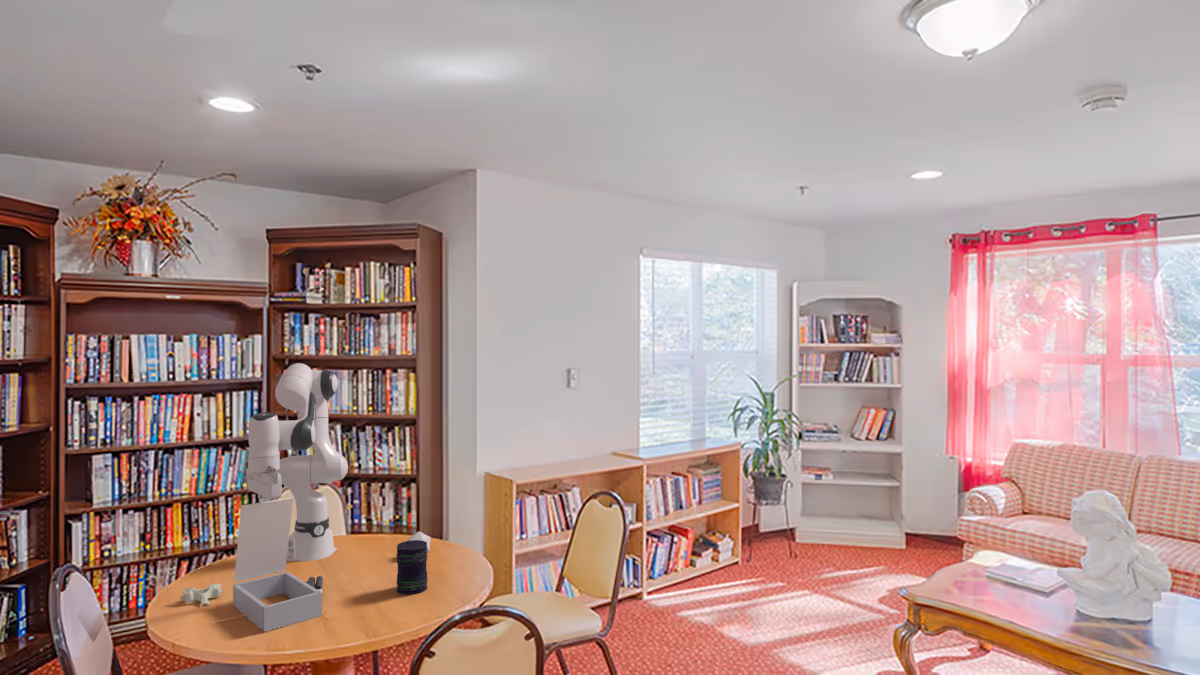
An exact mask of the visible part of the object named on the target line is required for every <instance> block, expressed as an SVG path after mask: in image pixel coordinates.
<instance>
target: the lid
mask: <svg viewBox="0 0 1200 675" xmlns="http://www.w3.org/2000/svg"><path fill="white" fill-rule="evenodd" d="M293 503H294V496H293V497H292V496H290V497H285V498H277V499H271V500H270V501H266V502H254V503H250V504H244V505H241V506H240V515H239V527H238V538H237V545H236V546H237V548H236V556H235V557H236V559H235V569H234V570H235V571H234V583H240V582H244V581H247V580H253V579H255V578H256V579H257V578H259V577H260V578H261V577H265V576H269V575H271V574H272V575H273V574H278V573H279V572H281V573H282V572H286V569H287V562H288V561H287V551H288V542H289V536H290V531H291V524H292V522H291V521H292V514H293V513H292V512H293Z"/></svg>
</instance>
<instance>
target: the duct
mask: <svg viewBox="0 0 1200 675" xmlns="http://www.w3.org/2000/svg"><path fill="white" fill-rule="evenodd" d="M306 582H307V581H306ZM306 582H305V581H304V580H303V579H300V578H299V577H297V576H295V574H292V573H290V572H289V571H283V572H281V573H274V574H272V575H271V574H270V575H266V576H262V577H260V578H259V577H258V578H256V579H255V578H254V579H250V580H248V581H247V580H246V581H241V582H237V583H235V584H233V585H232V594H233V595H232V597H233V598H232V601H233V602H232V605H233V607H234V608H236V609H237V611H239V612H241V613H242V615H245V616H246V617H247V618H248V619H250V620H251V621H252V622H253V623H254V624H256V625H257V626H258V627H259V628H260V629H262V630H263V631H264V632H265V631H269V630H272V629H275V630H277V629H276V628H279V629H281V628H280V627H282V628H284V627H283V626H285V627H288V626H287V625H289V626H292V625H295V624H298V622H299V623H302V622H305V621H308V620H312V619H314V618H315V617H316V618H320V617H322V616H323V608H322V607H323V604H322V603H323V596H322V595H323V591H322V592H320V591H319V590H317V589H315V586H314V587H312V586H310V585H309V584H307V583H306ZM279 595H282V596H286V597H288V598H289V599H287V600H284V601H280V602H276V603H272V604H268V605H267V604H265V603H264V602H263V601H261V600H263V599H268V598H271V597H274V596H279ZM246 617H245V618H246ZM247 618H246V619H247ZM248 619H247V620H248ZM304 620H305V621H304ZM251 621H250V622H251ZM301 621H302V622H301ZM252 622H251V623H252ZM253 623H252V624H253ZM294 623H295V624H294ZM254 624H253V625H254ZM291 624H292V625H291ZM256 625H255V626H256ZM257 626H256V627H257ZM258 627H257V628H258ZM259 628H258V629H259ZM260 629H259V630H260ZM262 630H261V631H262ZM263 631H262V632H263ZM272 631H273V630H272ZM264 632H263V633H264ZM269 632H270V631H269ZM265 633H266V632H265Z"/></svg>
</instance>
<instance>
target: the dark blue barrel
mask: <svg viewBox="0 0 1200 675" xmlns="http://www.w3.org/2000/svg"><path fill="white" fill-rule="evenodd" d="M427 561H428V552H427V542H425V541H420V540H412V541H408V540H406V541H402V542H400V543H398V544H396V563H397V575H396V588H397V589H396V592H397V593H398V594H399V595H402V596H403V595H405V596H410V595H411V596H413V595H419V594H421V593H424V592H425V591H427V589H428V571H427Z"/></svg>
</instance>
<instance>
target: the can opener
mask: <svg viewBox="0 0 1200 675" xmlns="http://www.w3.org/2000/svg"><path fill="white" fill-rule="evenodd" d="M323 582H324V577H323V576H322V575H318V576H317V577H316V578H315V577H314V576H310V577H308V580H307V581H306V583H307V584H309V585H310V586H312V587H314V588H315V589H317V590H319V591H320V592H322V593H323Z"/></svg>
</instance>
